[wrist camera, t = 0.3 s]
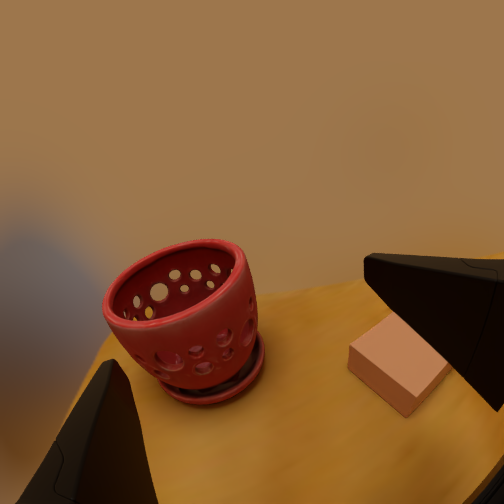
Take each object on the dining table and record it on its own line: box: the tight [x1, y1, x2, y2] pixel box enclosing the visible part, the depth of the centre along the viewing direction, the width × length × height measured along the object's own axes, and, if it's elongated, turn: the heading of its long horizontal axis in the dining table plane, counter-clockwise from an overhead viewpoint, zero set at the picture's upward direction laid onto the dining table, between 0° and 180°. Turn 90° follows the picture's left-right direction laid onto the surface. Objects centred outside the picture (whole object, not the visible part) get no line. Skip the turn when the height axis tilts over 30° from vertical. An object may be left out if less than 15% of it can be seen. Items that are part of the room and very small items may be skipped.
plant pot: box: [102, 239, 265, 404], centre depth 25 cm, size 13×13×12 cm
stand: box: [348, 312, 452, 418], centre depth 21 cm, size 8×8×4 cm
